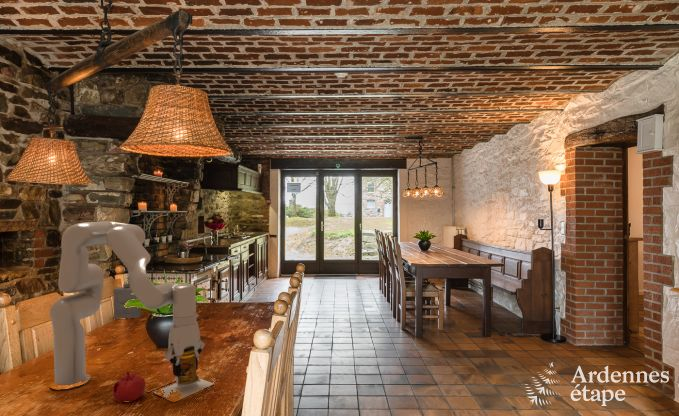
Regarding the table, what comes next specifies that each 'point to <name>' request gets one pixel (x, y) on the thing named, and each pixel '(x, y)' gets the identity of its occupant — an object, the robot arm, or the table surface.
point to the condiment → (187, 368)
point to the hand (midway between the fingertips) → (185, 371)
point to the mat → (186, 388)
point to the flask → (119, 301)
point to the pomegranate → (129, 387)
